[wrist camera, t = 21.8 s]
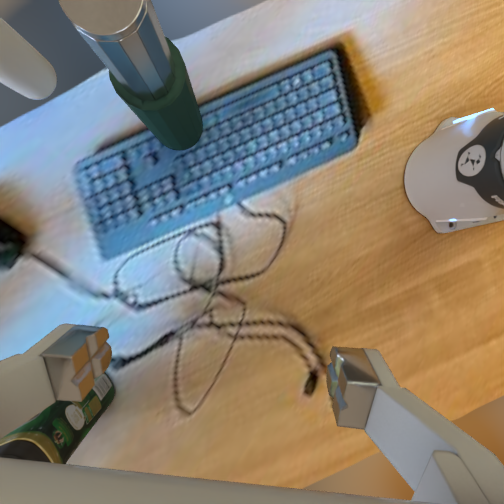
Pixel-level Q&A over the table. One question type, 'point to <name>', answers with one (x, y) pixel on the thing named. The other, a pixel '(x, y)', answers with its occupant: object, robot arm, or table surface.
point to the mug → (24, 66)
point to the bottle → (169, 108)
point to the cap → (126, 43)
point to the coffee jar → (58, 427)
